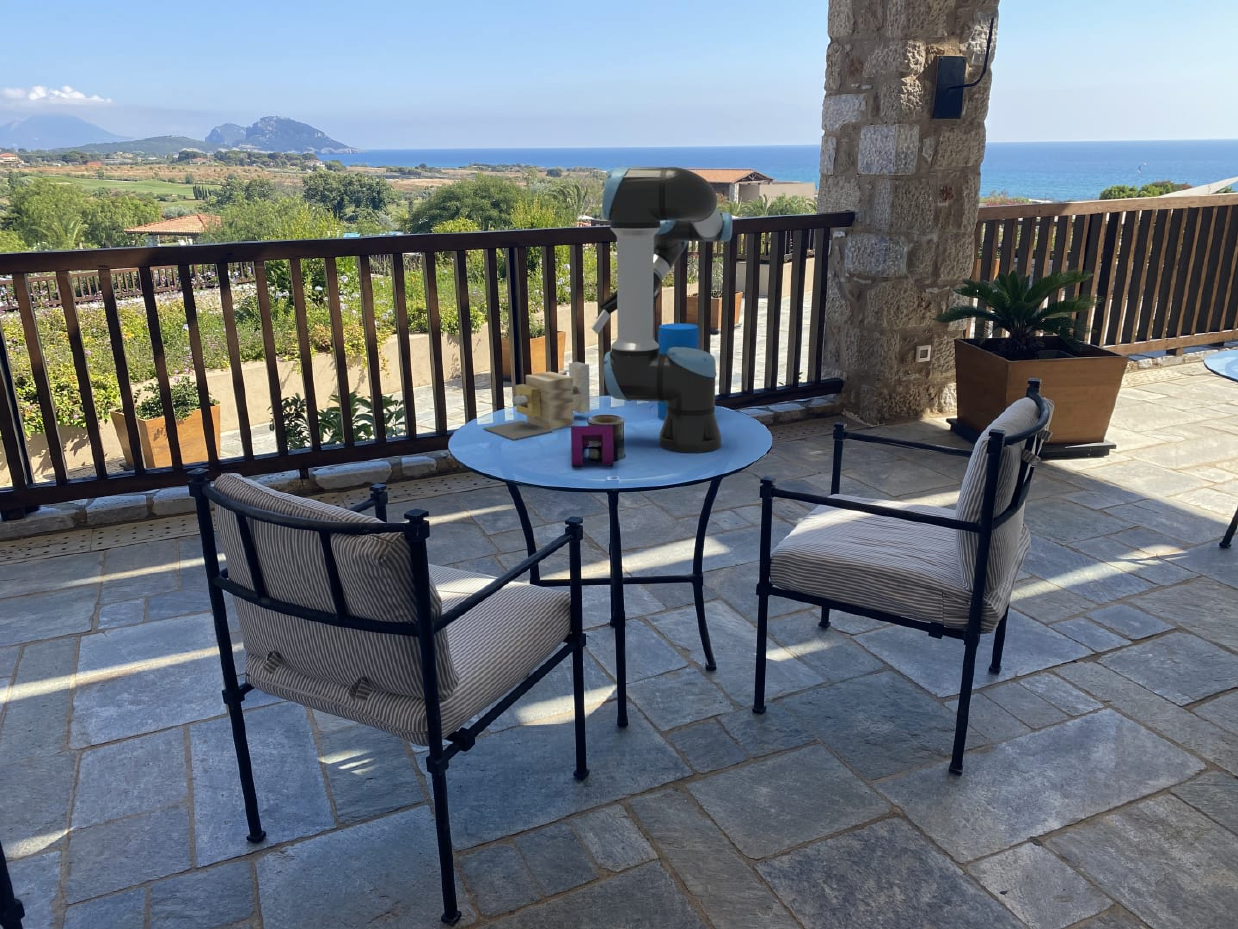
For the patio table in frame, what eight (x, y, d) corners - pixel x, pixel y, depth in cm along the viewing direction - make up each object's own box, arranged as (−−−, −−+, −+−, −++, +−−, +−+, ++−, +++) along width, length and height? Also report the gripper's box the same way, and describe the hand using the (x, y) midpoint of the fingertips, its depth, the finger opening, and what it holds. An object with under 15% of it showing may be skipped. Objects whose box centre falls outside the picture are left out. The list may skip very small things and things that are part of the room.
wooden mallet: (578, 408, 243) (577, 361, 239) (589, 411, 240) (589, 364, 236) (510, 421, 229) (508, 372, 226) (521, 425, 226) (519, 376, 222)
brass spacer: (524, 410, 233) (523, 383, 231) (540, 415, 228) (539, 388, 225) (516, 412, 231) (515, 385, 229) (532, 417, 226) (531, 389, 224)
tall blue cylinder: (659, 411, 247) (660, 322, 240) (697, 413, 246) (699, 323, 238) (655, 421, 237) (656, 329, 229) (695, 422, 236) (697, 329, 228)
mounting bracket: (572, 474, 213) (571, 463, 196) (571, 439, 215) (570, 426, 197) (610, 473, 214) (613, 462, 196) (609, 438, 215) (612, 425, 197)
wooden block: (551, 418, 241) (550, 371, 237) (573, 425, 234) (572, 377, 230) (527, 422, 236) (525, 375, 232) (549, 430, 229) (547, 381, 225)
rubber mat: (521, 421, 237) (521, 420, 237) (552, 432, 227) (552, 430, 227) (483, 429, 230) (483, 428, 230) (513, 440, 220) (513, 439, 220)
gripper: (688, 287, 240) (647, 348, 235) (628, 279, 258) (589, 336, 253) (674, 268, 235) (632, 331, 230) (614, 262, 253) (574, 320, 248)
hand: (609, 334), depth 242 cm, fingers open, 13 cm apart
